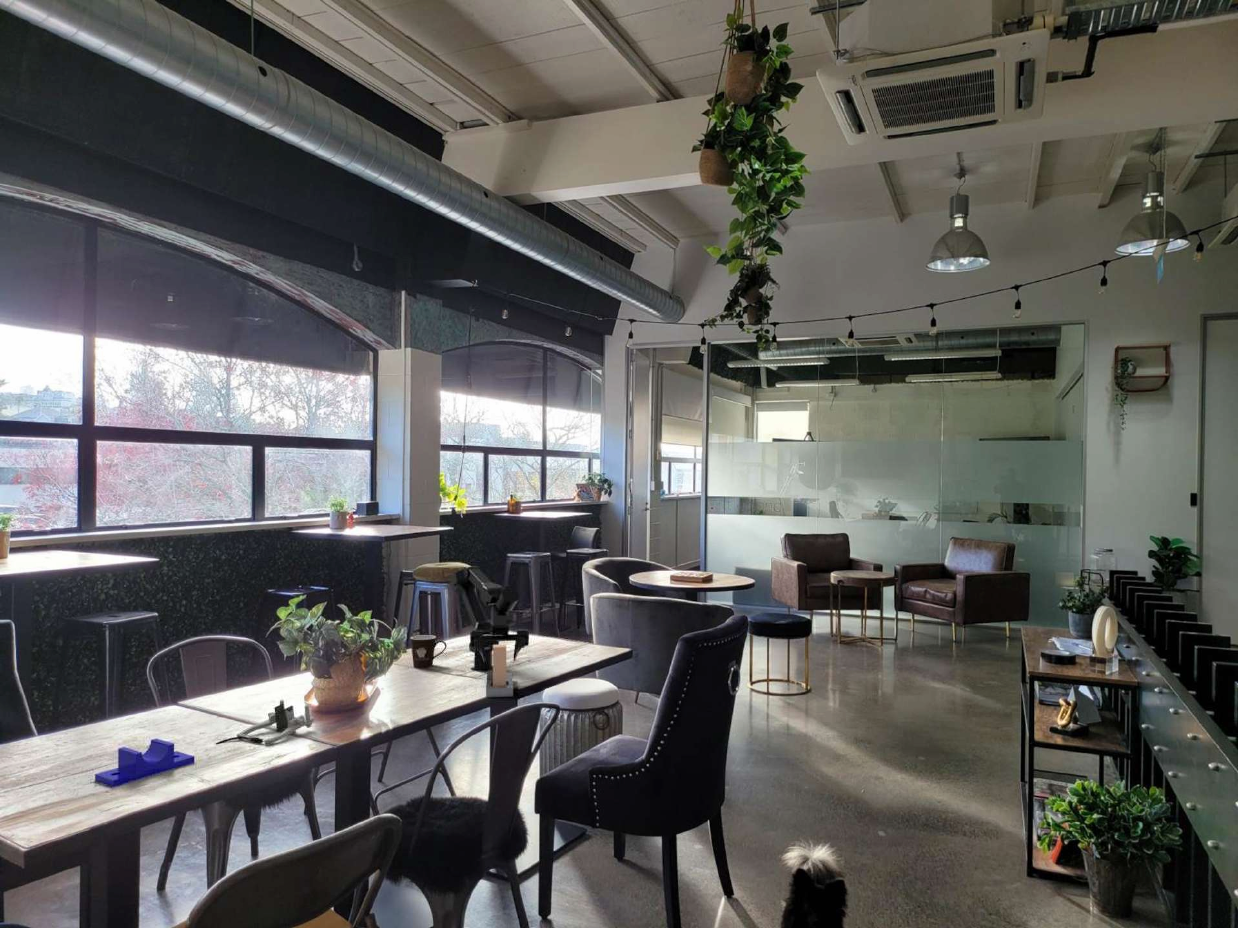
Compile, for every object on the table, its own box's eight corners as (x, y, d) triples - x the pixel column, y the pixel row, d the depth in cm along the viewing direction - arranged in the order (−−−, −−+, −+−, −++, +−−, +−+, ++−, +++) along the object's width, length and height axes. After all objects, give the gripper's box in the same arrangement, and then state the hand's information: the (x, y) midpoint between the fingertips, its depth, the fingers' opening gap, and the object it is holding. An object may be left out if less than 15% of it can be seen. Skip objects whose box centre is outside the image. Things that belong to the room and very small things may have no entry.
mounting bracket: (112, 788, 175) (113, 760, 175) (94, 782, 179) (95, 754, 179) (194, 764, 191) (194, 737, 191) (176, 758, 194) (176, 732, 195)
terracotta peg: (493, 690, 256) (493, 644, 256) (506, 689, 256) (506, 644, 257) (492, 693, 252) (493, 647, 252) (506, 693, 252) (506, 646, 253)
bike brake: (282, 720, 222) (216, 753, 204) (280, 695, 221) (213, 726, 203) (319, 728, 215) (253, 763, 198) (316, 703, 214) (250, 735, 197)
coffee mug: (405, 667, 286) (405, 638, 287) (420, 662, 294) (420, 634, 295) (433, 670, 282) (433, 641, 282) (447, 665, 290) (448, 636, 290)
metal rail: (487, 681, 267) (487, 673, 267) (512, 680, 268) (512, 672, 269) (486, 697, 248) (486, 688, 248) (513, 696, 249) (513, 687, 249)
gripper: (470, 605, 266) (468, 647, 255) (529, 604, 269) (529, 645, 258) (471, 625, 274) (469, 666, 263) (528, 624, 276) (529, 665, 265)
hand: (499, 660), depth 262 cm, fingers open, 9 cm apart
